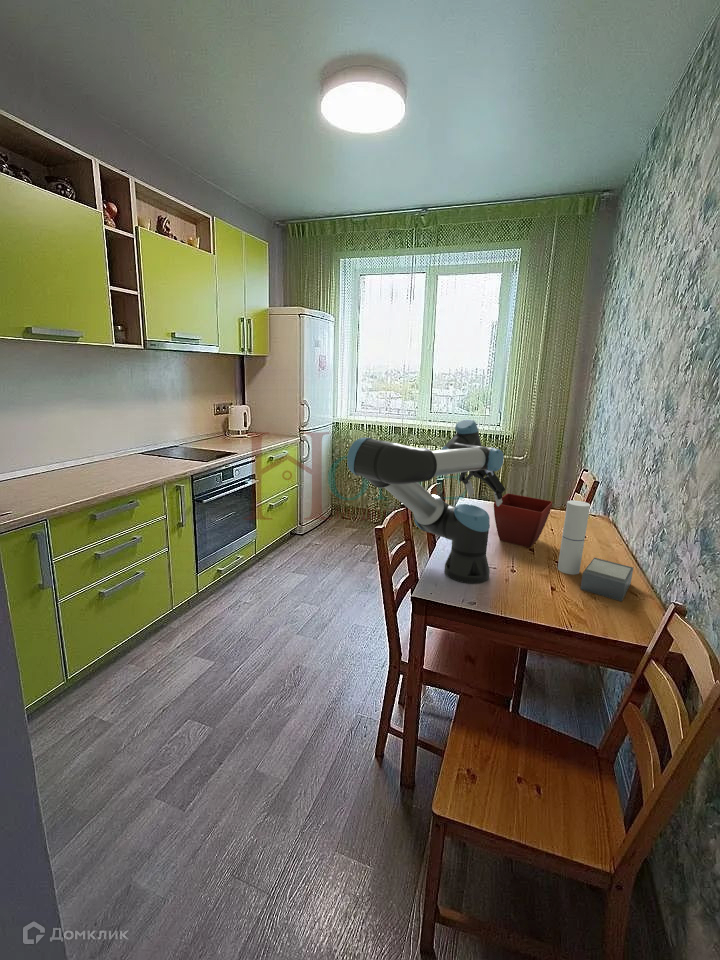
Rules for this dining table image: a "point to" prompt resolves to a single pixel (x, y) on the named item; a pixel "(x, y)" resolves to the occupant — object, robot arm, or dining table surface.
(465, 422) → the robot arm
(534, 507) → the plant pot
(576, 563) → the cylindrical container
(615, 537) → the dining table surface
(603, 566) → the grey rectangular block
